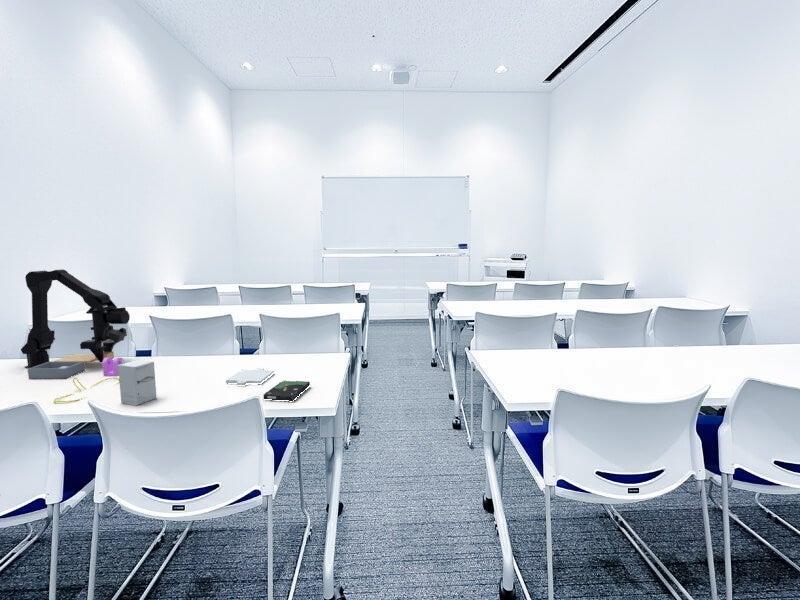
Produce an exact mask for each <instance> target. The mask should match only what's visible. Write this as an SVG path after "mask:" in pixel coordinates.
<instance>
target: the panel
mask: <svg viewBox="0 0 800 600" xmlns="http://www.w3.org/2000/svg"><path fill="white" fill-rule="evenodd" d="M83 371H85V372H86V368H85V363H84V362H54V361H49V362H47V363H44V364H41V365H38V366H35V367H32V368H27V376H28V380H67V378H68V379H70V378H72V377H75V376H77V375H79V374H78V373H80V374H82V373H84V372H83ZM81 372H82V373H81ZM76 374H77V375H76ZM74 375H75V376H74ZM71 376H72V377H71ZM69 377H70V378H69Z"/></svg>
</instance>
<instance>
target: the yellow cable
mask: <svg viewBox="0 0 800 600" xmlns="http://www.w3.org/2000/svg"><path fill="white" fill-rule="evenodd" d="M75 379H76V380H77V382H78V384H79V385H80V386H81V387H82V388H83V389H84V390H86V389H87V388H86V387H85V386H84V385H83V384H82V383H81V382H80V380H79V379H78V378H77V377H74V378H73V377H72V383H73V384H74V386H75V387H76V388H77V390H79V392H81V391H83V390H82V389H81V388H80V387H79V386H78V385H77V384H76V382H75ZM111 379H113V380H119V377H116V376H113V377H108V378H105V379H103V380H100V381H98V382H96V383H95V384H96V385H98V384H100V383H103V382H104V381H107V380H111ZM118 383H119V384H120V382H119V381H118ZM118 383H116V384H117V385H119V384H118ZM95 384H92V385H91V386H93V385H94V386H96V385H95ZM116 384H114V386H117V385H116ZM94 386H93V387H94ZM72 394H73V395H75V394H74V392H73V393H70V394H69V393H68V394H66V395H62V396H60V397H56V398H55V399H53V402H55V403H72V402H74V403H75V402H77V400H78V401H81V400H83V398H84V399H86V398H85V397H86V396H84V397H81V398H78V399H75V400H59V399H62V398H65V397H68V396H72ZM80 399H81V400H80Z"/></svg>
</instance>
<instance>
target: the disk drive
mask: <svg viewBox="0 0 800 600" xmlns="http://www.w3.org/2000/svg"><path fill="white" fill-rule="evenodd" d="M310 382H311V381H302V380H301V381H300V380H294V381H293V380H282V381H280V382H279V383H277V384H276V385H275V386H273V387H272V388H271V389H269V390H267V391H266V392H265V393H264V394H263V400H264V399H272V400H289V401H293V400H294V399H295V398H296V397H297V396H299V394H300V393H301V392H303V391H304V390H305V389H306V388H307V387H308V386H309V385H310V386H311V384H310Z"/></svg>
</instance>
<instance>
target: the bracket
mask: <svg viewBox="0 0 800 600" xmlns="http://www.w3.org/2000/svg"><path fill="white" fill-rule="evenodd" d="M101 363H102V364H101V365H102V375H103V377H119V370H118V365H121V364H124V360H123V358H122V357H114V358H113V359H112V358H104V359H103V362H101Z"/></svg>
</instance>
